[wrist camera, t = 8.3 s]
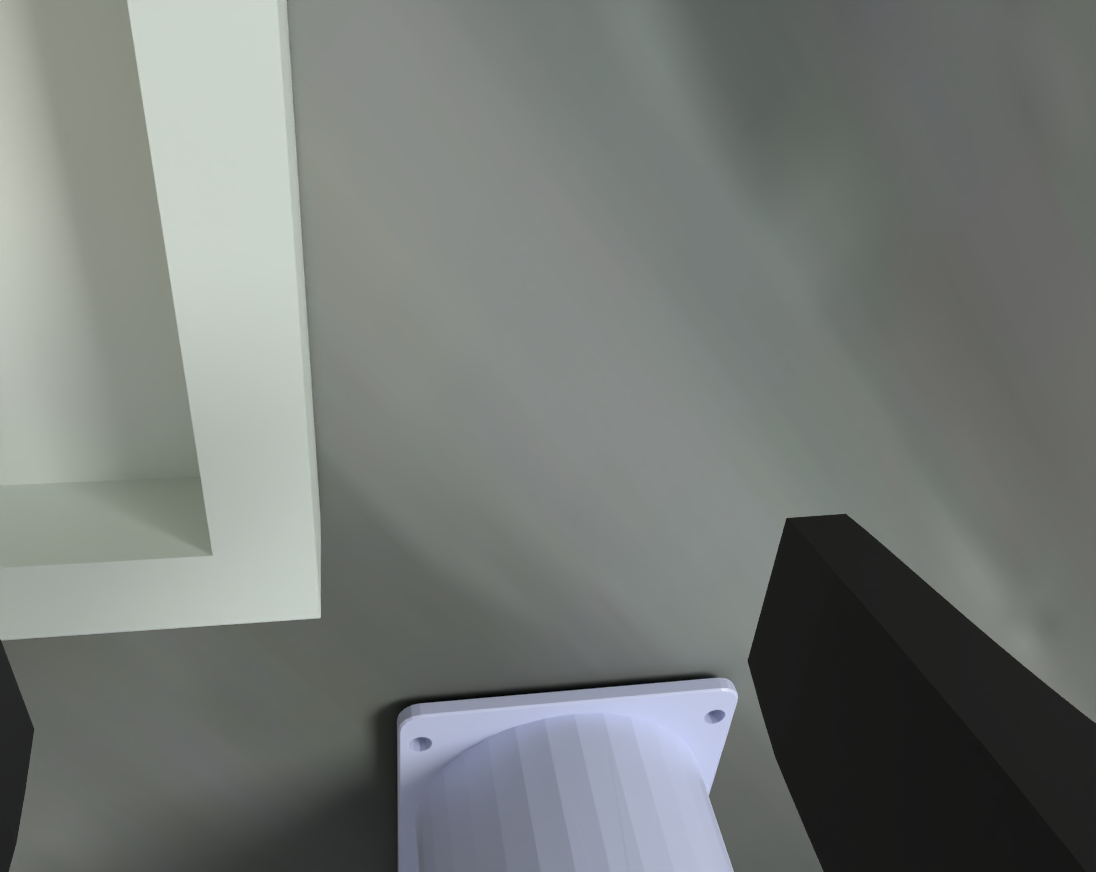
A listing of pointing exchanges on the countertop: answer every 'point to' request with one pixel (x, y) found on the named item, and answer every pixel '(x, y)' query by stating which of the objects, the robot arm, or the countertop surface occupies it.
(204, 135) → the tray
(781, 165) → the countertop surface
